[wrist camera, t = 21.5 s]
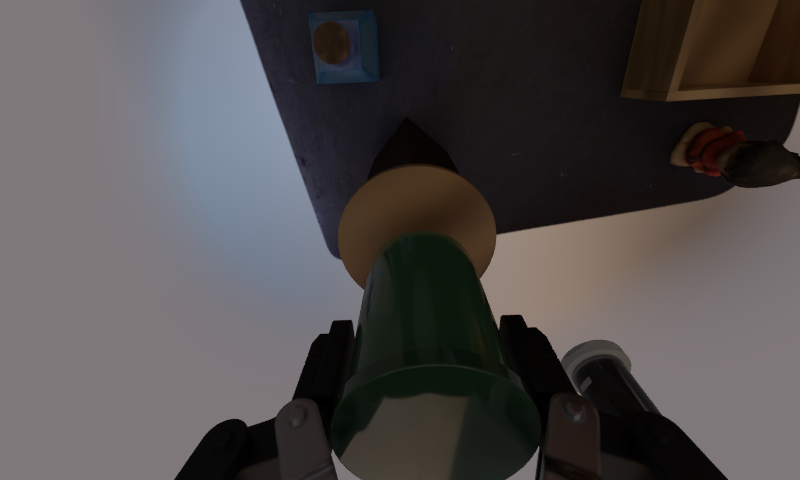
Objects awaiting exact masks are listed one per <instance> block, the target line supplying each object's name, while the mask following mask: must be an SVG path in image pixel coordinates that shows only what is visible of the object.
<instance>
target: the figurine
mask: <svg viewBox="0 0 800 480" xmlns="http://www.w3.org/2000/svg"><path fill="white" fill-rule="evenodd" d="M798 155H799V154H798V153H794V152H789V151H788V150H787V149H786V148H785V147H784V146H783V145H782V144H781V143H779V142H778V141H776V140H772V141H769V140H768V139H762V140H759V141H747V140H746V138H745V136H744V133H743V131H742V130H738V131H733V130H732V128H731V127H728V126H723V127H714V126H712V125H711V124H710V123H708V122H698V123H695V124H693V125H692V126H690V127H689V128H688V130H687V131H686V132H685V133H684V135H683V136H682V137H681V139H680V140H679V141H678V143H677V144H676V146H675V147H674V149H673V151H672V152H671V154H670V157H669V161H670V163H671V164H674V165H676V166H692V167H693V169H694V171H695V172H696V173H701V172H704V173H705V174H707V175H710V176H720V175H723V176H724V177H725V179H726V180H727V181H729V182H731V183H732V184H735V185H736V186H738V187H744V188H758V187H766V186H773V185H777V184H780V183H783V182H786V181H789V180H792V179H800V156H798Z"/></svg>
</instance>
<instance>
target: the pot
mask: <svg viewBox="0 0 800 480" xmlns="http://www.w3.org/2000/svg"><path fill="white" fill-rule="evenodd" d="M329 436H330V441H331V445H332V448H333V450H334V452H335V454H336V456H337V457H338V459H339V460H340V462H341V463H342V464H343V465H344V466H345V467H346V468H347V469H348V470H349V471H351V472H352V473H353V474H354V475H356V476H357V477H359V478H360V479H362V480H505V479H507V478H509V477H510V476H512V475H513V474H515V473H516V472H518V471H519V470H520V469H521V468H523V467H524V466H525V465H526V463H527V462H528V461H529V460H530V459H531V458H532V456H533V455H534V453H535V452H536V450H537V448H538V446H539V444H540V440H541V436H542V421H541V416H540V413H539V410H538V408H537V406H536V403H535V401H534V398H533V396H532V393H531V391H530V390H529V388H528V387H527V385H526V384H525V382H524V381H523V380H522V379H521V378H520V377H519V376H518V375H517V374H516V373H515V372H514V370H513V367H512V364H511V362H510V359H509V356H508V354H507V351H506V348H505V346H504V343H503V340H502V338H501V335H500V332H499V330H498V327H497V324H496V322H495V319H494V316H493V314H492V311H491V308H490V305H489V303H488V300H487V298H486V295H485V292H484V289H483V287H482V284H481V282H480V279H479V276H478V273H477V271H476V268H475V265H474V263H473V260H472V258H471V256H470V254H469V253H468V251H467V250H466V249H465V248H464V246H463V245H461V244H460V243H459V242H458V241H456V240H455V239H453V238H452V237H450V236H448V235H445V234H442V233H439V232H435V231H428V230H416V231H410V232H406V233H402V234H400V235H398V236H395V237H393V238H392V239H390V240H388V241H387V242H386V243H384V244H383V245H382V246H381V247H380V248H379V249H378V250H377V252H376V253H375V254H374V256H373V258H372V260H371V262H370V265H369V269H368V274H367V279H366V284H365V290H364V295H363V300H362V305H361V311H360V316H359V321H358V326H357V332H356V337H355V342H354V347H353V353H352V358H351V363H350V368H349V374H348V379H347V383H346V384H345V385H344V386H343V388H342V389H341V391H340V392H339V394H338V396H337V398H336V400H335V403H334V407H333V412H332V416H331V421H330V426H329Z"/></svg>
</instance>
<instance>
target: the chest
mask: <svg viewBox="0 0 800 480" xmlns="http://www.w3.org/2000/svg"><path fill="white" fill-rule="evenodd" d="M797 93H800V0H642V2H641V6H640V11H639V15H638V20H637V24H636V29H635V33H634V37H633V42H632V46H631V51H630V55H629V59H628V64H627V68H626V73H625V77H624V81H623V86H622V90H621V95H620V97H625V98H635V99H646V100H656V101H681V100H698V99H714V98H731V97H747V96H764V95H780V94H797Z"/></svg>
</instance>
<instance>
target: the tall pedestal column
mask: <svg viewBox="0 0 800 480" xmlns="http://www.w3.org/2000/svg"><path fill="white" fill-rule="evenodd" d="M416 230H428V231H435V232H439V233H442V234H445V235H448V236H450V237H452V238H453V239H455V240H456V241H458V242H459V243H460V244H461V245H463V246H464V248H465V249H466V250H467V251H468V253H469V254H470V256H471V258H472V260H473V263H474V265H475V268H476V271H477V273H478V276H479V279H480V278H481V276H482V275H483V274H484V272H485V271H486V269H487V267H488V266H489V264H490V261H491V259H492V257H493V254H494V250H495V245H496V226H495V221H494V217H493V214H492V211H491V209H490V207H489V205H488V203H487V201H486V200H485V198H484V197H483V195H482V194H481V193H480V191H479V190H478V189H477V188H476V187H475V186H474V185H473V184H472V183H471V182H470V181H468V180H467V179H466V178H464V177H463V176H461V175H460V174H459V172H458V170H457V168H456V167H455V165H454V163H453V161H452V159H451V158H450V156H449V154H448V152H447V151H446V150H444V149H443V148H442V147H441V146H440V145H439V144H437V143H436V142H435V141H434V140H433V139H432V138H430V137H429V136H428V135H427V134H426V133H425V132H424V131H422V130H421V129H420V128H419V127H418V126H417V125H415V124H414V123H413V122H412V121H411V120H410V119H408V118H406V119H405V120H404V121H403V123H402V124H401V125H400V127H399V128H398V129H397V131H396V132H395V133H394V135H393V136H392V137H391V139H390V140H389V141H388V142H387V144H386V145H385V146H384V148H383V149H382V150H381V152H380V153H379V154H378V156H377V157H376V158H375V160H374V162H373V165H372V167H371V170H370V173H369V175H368V178H367V181H366V182H365V183H363V184H362V185H361V186H360V187H359V188H358V189H357V190H356V191H355V193H354V194H353V195H352V197H351V198H350V200H349V201H348V203H347V205H346V207H345V209H344V211H343V213H342V216H341V220H340V223H339V229H338V246H339V252H340V255H341V259H342V261H343V263H344V265H345V268H346V269H347V271H348V273H349V274H350V276H351V277H352V278H353V279H354V281H355V282H356V283H357V284H358V285H359V286H360V287H361V288H363V289H364V290H365V284H366V279H367V274H368V269H369V265H370V262H371V260H372V258H373V256H374V254H375V253H376V252H377V250H378V249H379V248H380V247H381V246H382V245H383V244H384V243H386V242H387V241H388V240H390V239H392V238H393V237H395V236H398V235H400V234H402V233H406V232H410V231H416Z"/></svg>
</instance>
